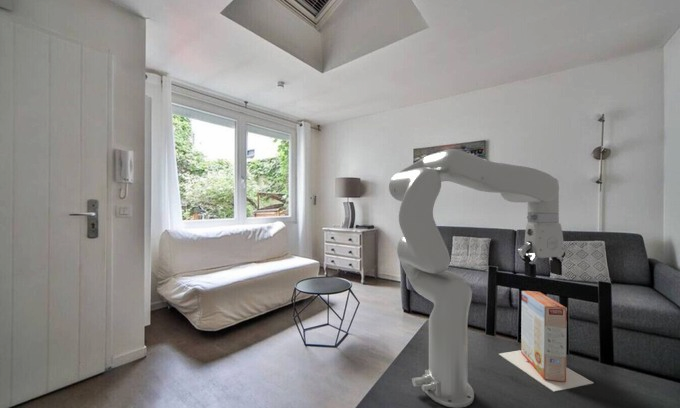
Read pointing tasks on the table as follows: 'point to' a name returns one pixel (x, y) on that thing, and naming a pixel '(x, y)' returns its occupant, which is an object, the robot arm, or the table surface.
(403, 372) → the table surface
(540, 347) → the cracker box
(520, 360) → the tile
